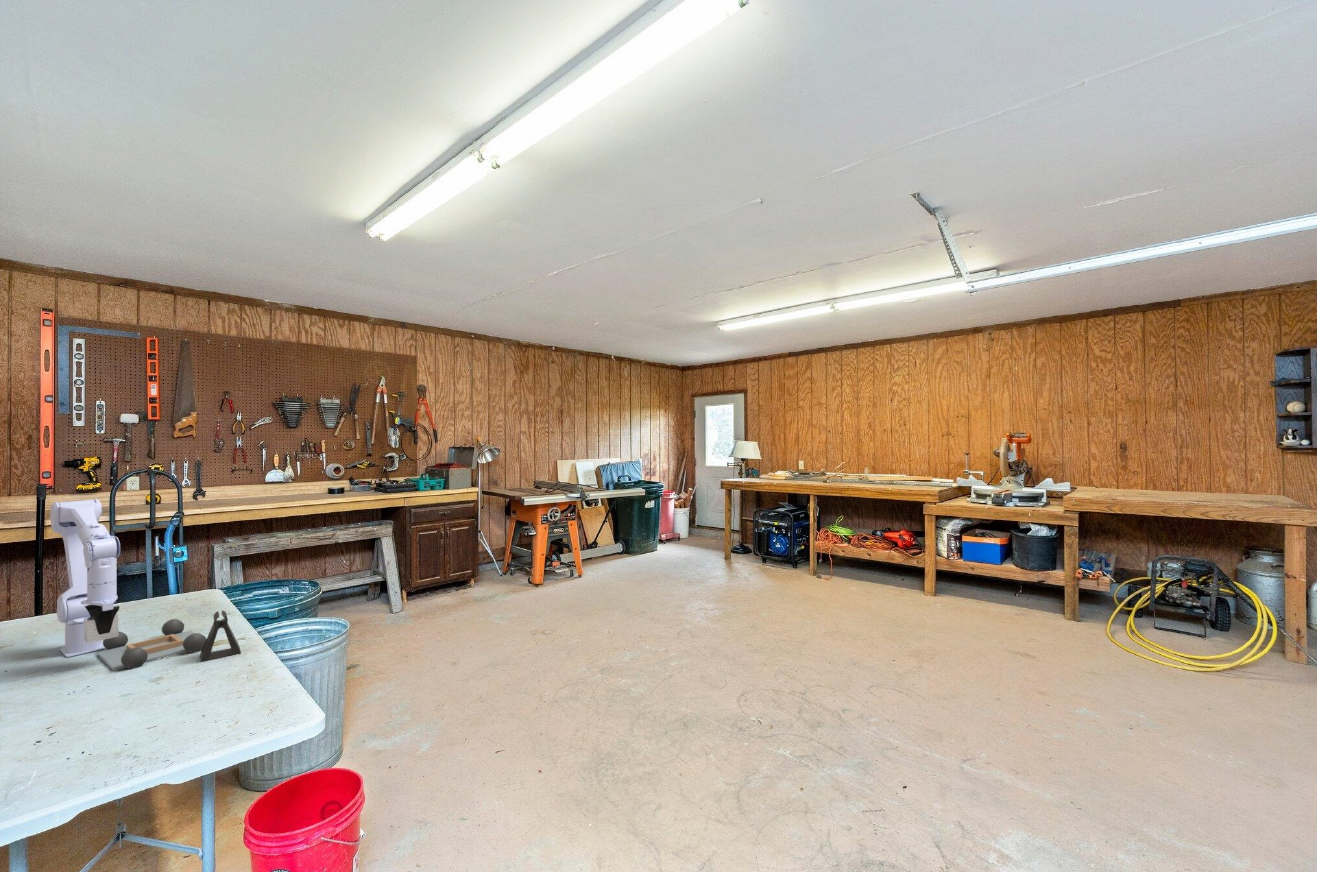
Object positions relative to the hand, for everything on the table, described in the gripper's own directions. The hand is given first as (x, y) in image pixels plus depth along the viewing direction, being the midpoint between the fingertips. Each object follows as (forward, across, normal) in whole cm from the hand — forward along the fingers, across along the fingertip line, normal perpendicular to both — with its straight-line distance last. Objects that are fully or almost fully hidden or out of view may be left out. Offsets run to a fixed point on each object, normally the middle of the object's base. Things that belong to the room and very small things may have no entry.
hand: (102, 631), depth 151 cm
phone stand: (+9, +19, +21) cm, 30 cm away
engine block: (+2, 0, 0) cm, 2 cm away
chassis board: (+9, 0, +11) cm, 14 cm away
